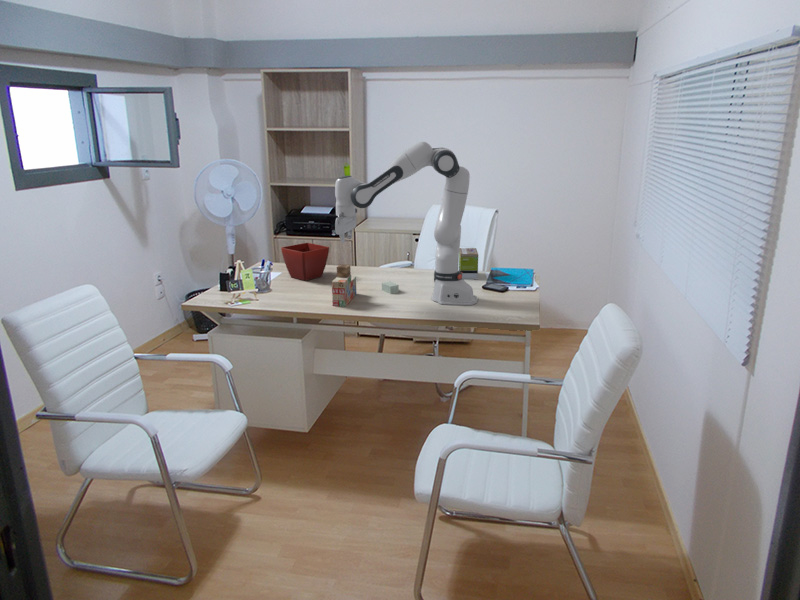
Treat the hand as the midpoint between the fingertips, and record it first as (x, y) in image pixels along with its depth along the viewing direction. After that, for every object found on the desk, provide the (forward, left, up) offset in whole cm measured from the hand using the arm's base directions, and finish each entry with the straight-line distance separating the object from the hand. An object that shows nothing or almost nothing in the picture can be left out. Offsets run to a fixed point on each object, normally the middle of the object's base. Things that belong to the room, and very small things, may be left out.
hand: (346, 240), depth 278 cm
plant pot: (+36, -34, -29) cm, 58 cm away
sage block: (-16, -20, -29) cm, 39 cm away
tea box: (-50, -60, -29) cm, 83 cm away
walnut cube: (+1, +1, -17) cm, 17 cm away
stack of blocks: (+1, 0, -30) cm, 30 cm away
